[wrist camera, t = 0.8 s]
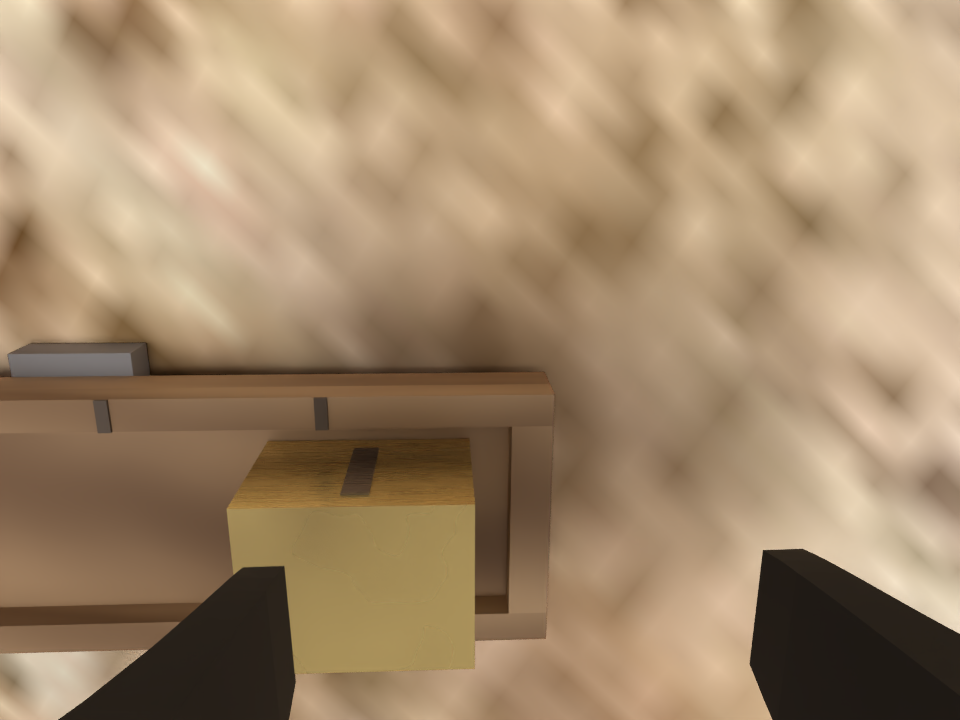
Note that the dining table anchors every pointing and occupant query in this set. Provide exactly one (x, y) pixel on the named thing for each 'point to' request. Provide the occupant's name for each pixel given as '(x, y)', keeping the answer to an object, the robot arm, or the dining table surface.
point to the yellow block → (366, 550)
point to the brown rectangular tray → (228, 484)
